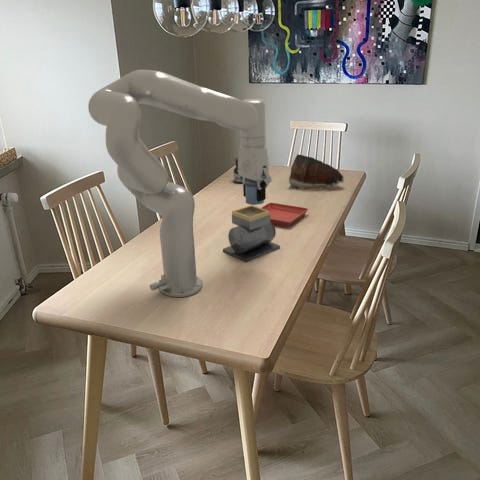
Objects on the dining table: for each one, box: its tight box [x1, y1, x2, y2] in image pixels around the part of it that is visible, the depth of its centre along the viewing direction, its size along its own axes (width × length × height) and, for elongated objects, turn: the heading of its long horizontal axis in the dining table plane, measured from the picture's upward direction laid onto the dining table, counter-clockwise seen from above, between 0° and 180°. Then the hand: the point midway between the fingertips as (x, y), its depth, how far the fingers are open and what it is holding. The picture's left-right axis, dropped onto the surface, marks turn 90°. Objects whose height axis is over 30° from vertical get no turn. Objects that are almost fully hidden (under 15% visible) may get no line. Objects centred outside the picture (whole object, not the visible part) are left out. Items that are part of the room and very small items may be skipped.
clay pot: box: [288, 154, 345, 190], centre depth 227 cm, size 15×15×25 cm
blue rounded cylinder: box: [245, 179, 265, 206], centre depth 150 cm, size 6×6×7 cm
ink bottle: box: [233, 157, 243, 185], centre depth 239 cm, size 10×9×12 cm
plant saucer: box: [261, 202, 309, 228], centre depth 192 cm, size 18×18×3 cm
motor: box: [222, 204, 281, 263], centre depth 162 cm, size 16×12×14 cm
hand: (254, 197), depth 151 cm, fingers closed on blue rounded cylinder, 5 cm apart
